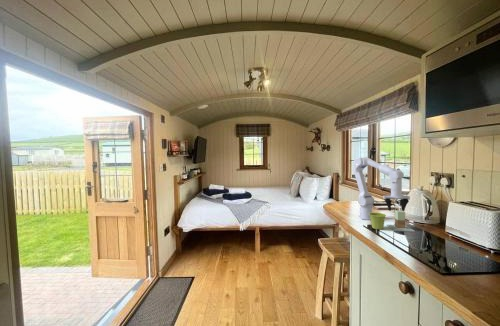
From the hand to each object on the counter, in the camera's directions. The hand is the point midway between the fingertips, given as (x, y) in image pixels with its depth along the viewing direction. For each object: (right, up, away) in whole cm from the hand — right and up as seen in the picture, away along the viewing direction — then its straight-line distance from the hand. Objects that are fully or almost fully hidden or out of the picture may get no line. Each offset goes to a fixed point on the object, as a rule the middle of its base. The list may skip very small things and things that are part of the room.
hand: (396, 210), depth 141 cm
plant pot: (-14, -11, -3) cm, 17 cm away
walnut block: (-1, -9, -5) cm, 10 cm away
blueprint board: (-1, -10, -5) cm, 11 cm away
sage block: (-1, -4, -5) cm, 7 cm away
